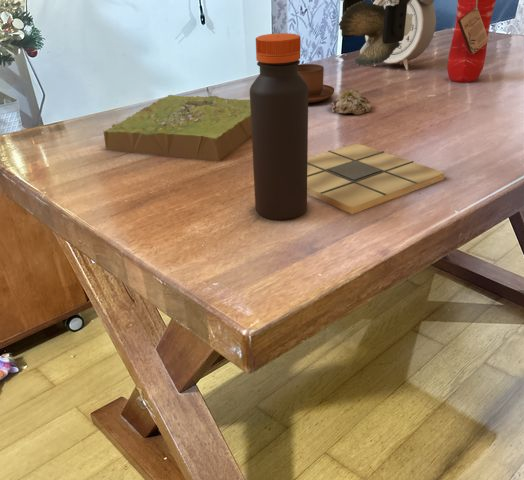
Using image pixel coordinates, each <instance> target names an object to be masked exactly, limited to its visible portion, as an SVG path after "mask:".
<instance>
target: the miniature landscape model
mask: <svg viewBox="0 0 524 480" xmlns="http://www.w3.org/2000/svg"><path fill="white" fill-rule="evenodd" d="M250 137H252V129H251V110H250V99H238V98H225V97H219V96H216V95H214V96H212V95H210V96H199V95H196V96H194V95H193V96H191V95H190V96H187V95H186V96H183V95H173V94H168V95H167V96H166V97H163V98H160V99H157V100H156V102H155V101H153V102H152V103H151V104H150V105H149V106H145V107H143V108H142V109H140V110H138V111H136V112H135V113H134V114H132V116H128V117H127V118H126V119H125V120H122V121H121V122H118V123H116V124H115V123H114V124H111V127H110V128H108V129H106V130H103V138H104V145H105V150H106V151H111V152H112V151H114V152H123V153H132V154H142V155H151V156H161V157H162V156H164V157H172V158H173V157H174V158H184V159H192V160H193V159H195V160H202V161H203V160H205V161H212V162H213V161H215V162H220V161H222V159H224V158H225V157H226V156H227V155H229V154H230V153H232V151H234V150H235V149H237V148H238V146H240V145H242V143H244V142H245V141H246V140H248V139H249V138H250Z"/></svg>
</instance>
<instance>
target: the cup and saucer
mask: <svg viewBox="0 0 524 480" xmlns="http://www.w3.org/2000/svg"><path fill="white" fill-rule="evenodd" d="M324 69H325V68H324V65H321V64H315V63H300V64H298V65H297V72H298V74H299V75H300V76H301V77H302V78H303V79H304V81H305V82H306V83H307V84H308V104H313V103H318V102H322V101H325V100H328V99H329V98H331V97H332V96H333V95H334V93H335V87H333V86H332V85H328V84H324V74H325V73H324V72H325V70H324Z"/></svg>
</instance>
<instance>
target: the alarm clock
mask: <svg viewBox="0 0 524 480" xmlns="http://www.w3.org/2000/svg"><path fill="white" fill-rule="evenodd" d="M370 1H371V2H370V3H372V4H376V5H379V6H382V5H383V6H384V9H385V7H386V6H387V5H390V2H389V0H370ZM434 2H435V0H412V2H411V3H409V4H407V12H406V13H408V14H409V15H410V16H411V18H412V26H411V29H410V32H409V33H408V35H406V36H404V39H403V40H402V41H399V43H400V44H399V48H396V49H395V50H394V51H393V53H392V54H391V55H390V57H389V58H388V59H387V60H385V61H384V62H383V63H384V64H398V63H399V64H400V65H403V66H404V68H405V70H406V71H408V70H409V64H408V63H409V62H408V61H411V60H414V59H417V58H418V57H420V55H423V54H424V52H425V51H426V50H427V48H428V47H429V46H430V44H431V42H432V40H433V39H434V35H435V31H436V27H437V14H436V8H435V6H434ZM364 39H365V42H366V41H367V40H368V36H367V35H364ZM377 65H378V63H377V64H376V65H374V64H373V66H374V67H376V66H377Z"/></svg>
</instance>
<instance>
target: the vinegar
mask: <svg viewBox="0 0 524 480" xmlns="http://www.w3.org/2000/svg"><path fill="white" fill-rule="evenodd" d="M301 37H302V36H301V35H299V34H296V33H290V32H289V33H285V32H284V33H281V32H280V33H277V32H276V33H267V34H262V35H259V36H257V37H256V38H255V59H256V61H257V63H256V65H257V66H258V67H259V73H258V76H257V77H256V79H254V81H253V82H252V84H251V85H250V88H249V100H250V110H251V129H252V135H251V145H252V147H251V148H252V167H253V186H254V187H253V188H254V189H253V190H254V208H255V211H256V213H257V214H258V215H259V216H261V217H262V218H264V219H267V220H273V221H288V220H293V219H296V218H299V217H300V216H302V215H304V214H305V213H306V211H307V209H308V194H307V158H309V157H308V153H309V152H308V149H309V146H308V144H309V143H308V142H309V103H308V84H307V83H306V82H305V81H304V79H303V78H302V77H301V76H300V75H299V74H298V72H297V65H300V64H301V60H300V59H301V47H302V45H301Z"/></svg>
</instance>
